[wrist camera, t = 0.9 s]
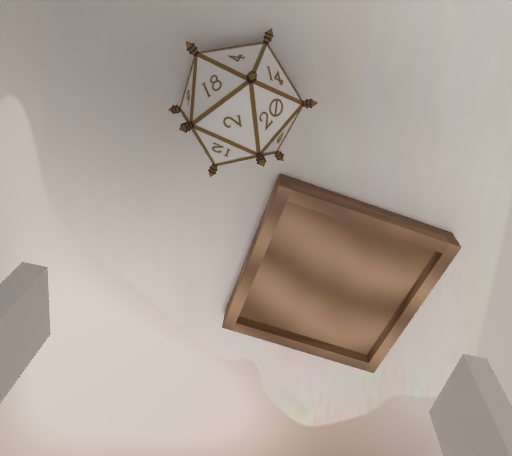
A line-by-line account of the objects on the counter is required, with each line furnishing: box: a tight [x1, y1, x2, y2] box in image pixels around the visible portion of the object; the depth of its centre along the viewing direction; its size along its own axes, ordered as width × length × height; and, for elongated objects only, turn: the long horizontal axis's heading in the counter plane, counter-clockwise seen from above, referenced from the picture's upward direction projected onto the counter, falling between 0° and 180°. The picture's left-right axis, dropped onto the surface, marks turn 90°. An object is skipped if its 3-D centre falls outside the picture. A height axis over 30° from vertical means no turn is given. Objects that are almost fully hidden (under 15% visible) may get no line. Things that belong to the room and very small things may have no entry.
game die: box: [169, 28, 317, 177], centre depth 28 cm, size 9×8×10 cm
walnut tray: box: [222, 174, 461, 373], centre depth 38 cm, size 15×15×2 cm
